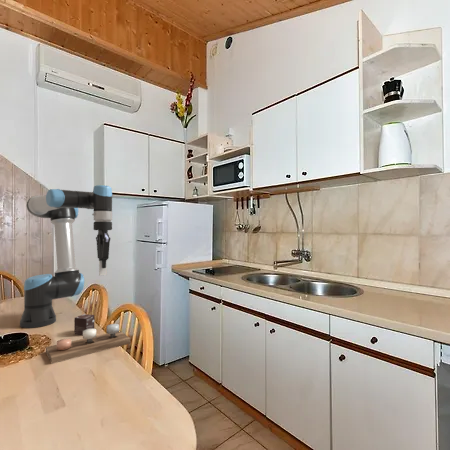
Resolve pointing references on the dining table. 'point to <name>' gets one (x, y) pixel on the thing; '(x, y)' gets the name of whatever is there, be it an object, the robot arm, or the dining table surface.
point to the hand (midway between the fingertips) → (103, 275)
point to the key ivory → (89, 334)
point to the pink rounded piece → (63, 344)
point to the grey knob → (112, 329)
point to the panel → (87, 346)
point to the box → (83, 323)
